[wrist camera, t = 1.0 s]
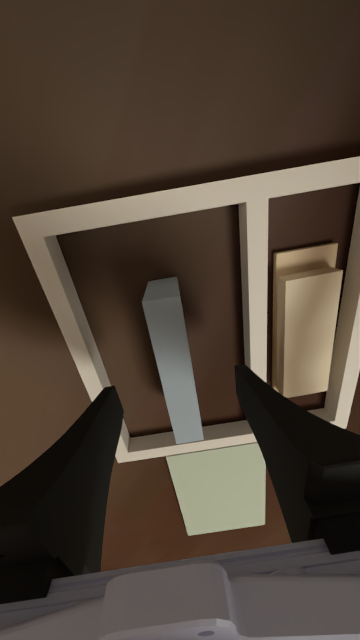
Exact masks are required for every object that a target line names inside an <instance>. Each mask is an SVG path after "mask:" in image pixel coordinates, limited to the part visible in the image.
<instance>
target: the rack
mask: <svg viewBox="0 0 360 640" xmlns="http://www.w3.org/2000/svg"><path fill="white" fill-rule="evenodd" d="M355 183H360V156H358V157H353V158H347V159H341V160H336V161H330V162H324V163H319V164H313V165H307V166H301V167H296V168H290V169H284V170H279V171H273V172H267V173H261V174H256V175H250V176H244V177H239V178H233V179H227V180H222V181H216V182H210V183H204V184H199V185H193V186H187V187H182V188H176V189H170V190H164V191H159V192H153V193H147V194H142V195H136V196H130V197H125V198H119V199H113V200H107V201H102V202H96V203H90V204H85V205H79V206H73V207H68V208H62V209H56V210H50V211H45V212H39V213H33V214H28V215H22V216H16V217H12V219H13V221H14V223H15V225H16V228H17V230H18V232H19V235H20V237H21V239H22V242H23V244H24V246H25V249H26V251H27V253H28V255H29V258H30V260H31V262H32V265H33V267H34V269H35V272H36V274H37V276H38V279H39V281H40V283H41V285H42V288H43V290H44V292H45V295H46V297H47V299H48V302H49V304H50V306H51V309H52V311H53V313H54V315H55V318H56V320H57V322H58V325H59V327H60V329H61V332H62V334H63V336H64V339H65V341H66V343H67V345H68V348H69V350H70V352H71V355H72V357H73V359H74V362H75V364H76V366H77V369H78V371H79V373H80V375H81V378H82V380H83V382H84V385H85V387H86V389H87V392H88V394H89V396H90V399H91V401H92V402H93V401H94V399H95V398H96V397H97V396H98V394H99V393H100V392H101V391H102V390H103V388H104V387H109V386H111V384H110V381H109V379H108V376H107V373H106V371H105V368H104V365H103V362H102V360H101V357H100V354H99V352H98V349H97V346H96V343H95V341H94V338H93V335H92V333H91V330H90V327H89V325H88V322H87V319H86V316H85V314H84V311H83V308H82V306H81V303H80V300H79V297H78V295H77V292H76V289H75V287H74V284H73V281H72V278H71V276H70V273H69V270H68V268H67V265H66V262H65V260H64V257H63V254H62V251H61V249H60V246H59V243H58V241H57V238H56V235H60V234H66V233H72V232H78V231H84V230H89V229H95V228H101V227H107V226H112V225H118V224H124V223H130V222H136V221H141V220H147V219H153V218H159V217H164V216H170V215H176V214H182V213H188V212H193V211H199V210H205V209H211V208H217V207H222V206H228V205H234V204H238V205H239V230H240V255H241V281H242V306H243V331H244V356H245V365H247V366H248V367H249V368H250V369H251V370H252V371H253V372H254V373H255V374H257V375H258V376H259V377H260V378H261V379H262V380H263V381H265V382H266V364H267V271H268V199H269V198H274V197H280V196H286V195H292V194H297V193H303V192H309V191H315V190H321V189H326V188H332V187H338V186H344V185H349V184H355ZM359 371H360V188H359V194H358V200H357V206H356V212H355V219H354V225H353V231H352V237H351V243H350V250H349V256H348V262H347V268H346V275H345V281H344V287H343V293H342V299H341V306H340V312H339V318H338V324H337V330H336V337H335V343H334V349H333V355H332V362H331V368H330V374H329V381H328V389H327V393H326V399H325V405H324V408H321V409H314V410H308V412H310V413H312V414H314V415H316V416H318V417H320V418H321V419H323V420H326V421H328V422H330V423H332V424H334V425H336V426H339V427H341V428H343V429H345V428H346V427H347V423H348V418H349V414H350V410H351V405H352V401H353V397H354V392H355V388H356V384H357V379H358V375H359ZM202 431H203V437H204V440H200V441H194V442H187V443H181V444H176V440H175V436H174V432H173V431H172V432H165V433H159V434H152V435H146V436H139V437H133V438H130V436H129V433H128V430H127V427H126V425H125V422H124V419H123V422H122V429H121V434H120V438H119V442H118V446H117V450H116V455H115V456H116V459H117V461H118V463H122V462H128V461H135V460H141V459H148V458H155V457H161V456H168V455H174V454H181V453H187V452H194V451H201V450H207V449H214V448H220V447H227V446H233V445H240V444H246V443H253V442H257V441H256V439H255V436H254V434H253V432H252V430H251V428H250V426H249V423H248V421H247V420H243V421H236V422H230V423H224V424H217V425H211V426H204V427H202Z"/></svg>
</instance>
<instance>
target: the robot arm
mask: <svg viewBox="0 0 360 640" xmlns="http://www.w3.org/2000/svg"><path fill="white" fill-rule="evenodd" d="M235 377H236V393H237V396H238V399H239V402H240V405H241V408H242V410H243V413H244V415H245V417H246V419H247V421H248V423H249V426H250V428H251V430H252V432H253V434H254V436H255V439H256V441H257V443H258V445H259V447H260V450H261V452H262V455H263V458H264V460H265V463H266V466H267V469H268V472H269V475H270V477H271V480H272V483H273V486H274V489H275V492H276V495H277V498H278V501H279V504H280V507H281V510H282V513H283V516H284V519H285V522H286V526H287V529H288V532H289V535H290V538H291V541H292V543H289V544H283V545H276V546H270V547H263V548H256V549H250V550H243V551H236V552H230V553H223V554H216V555H210V556H203V557H196V558H190V559H183V560H176V561H170V562H163V563H156V564H150V565H143V566H137V567H130V568H123V569H117V570H110V571H103V572H100V567H101V555H102V543H103V533H104V523H105V514H106V506H107V498H108V491H109V484H110V477H111V472H112V467H113V463H114V459H115V455H116V450H117V446H118V442H119V438H120V434H121V429H122V422H123V412H124V410H123V408H122V405H121V402H120V399H119V397H118V394H117V391H116V388H115V386H109V387H104V388H103V390H102V391H101V392H100V393H99V394H98V396H97V397H96V398H95V399H94V401H93V402H92V403H91V404H90V406H89V407H88V408H87V409H86V410H85V412H84V413H83V414H82V415H81V416H80V417H79V418H78V420H77V421H76V422H75V423H74V424H73V425H72V426H71V427H70V428H69V429H68V430H67V432H66V433H65V434H64V435H63V436H62V437H61V438H60V439H58V440H57V441H56V442H55V443H54V444H53V445H52V446H51V447H50V448H49V449H48V450H47V451H45V452H44V453H43V454H42V455H41V456H40V457H38V458H37V459H36V460H35V461H34V462H33V463H31V464H30V465H29V466H28V467H26V468H25V469H24V470H23V471H21V472H20V473H19V474H17V475H16V476H15V477H13V478H12V479H11V480H9V481H8V482H6V483H5V484H4V485H2V486H1V487H0V640H360V435H358V434H355V433H353V432H350V431H348V430H345V429H343V428H341V427H339V426H336V425H334V424H332V423H330V422H328V421H326V420H323V419H321V418H320V417H318V416H316V415H314V414H312V413H310V412H308V411H306V410H305V409H303V408H301V407H300V406H298V405H296V404H295V403H293V402H291V401H290V400H288V399H287V398H286V397H284V396H283V395H281V394H280V393H279V392H277V391H276V390H275V389H273V388H272V387H271V386H270V385H268V384H267V383H266V382H265V381H263V380H262V379H261V378H260V377H259V376H258V375H257V374H255V373H254V372H253V371H252V370H251V369H250V368H249V367H248V366H247V365H238V366H235Z"/></svg>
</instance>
